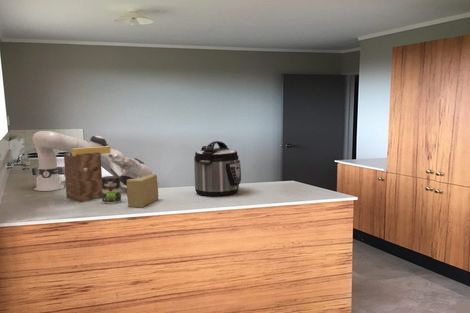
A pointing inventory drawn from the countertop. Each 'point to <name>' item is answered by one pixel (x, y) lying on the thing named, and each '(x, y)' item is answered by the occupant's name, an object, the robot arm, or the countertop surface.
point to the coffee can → (111, 189)
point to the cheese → (142, 191)
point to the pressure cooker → (217, 170)
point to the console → (83, 176)
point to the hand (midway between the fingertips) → (112, 155)
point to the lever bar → (91, 150)
